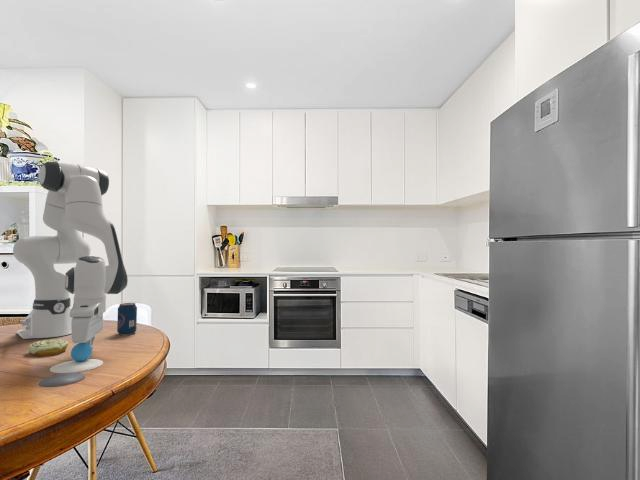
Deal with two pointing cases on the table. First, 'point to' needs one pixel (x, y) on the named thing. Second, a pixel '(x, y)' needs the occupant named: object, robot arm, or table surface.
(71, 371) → the disc
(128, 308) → the soda can
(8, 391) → the table surface
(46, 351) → the decorated donut
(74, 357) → the ball
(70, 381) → the disc
